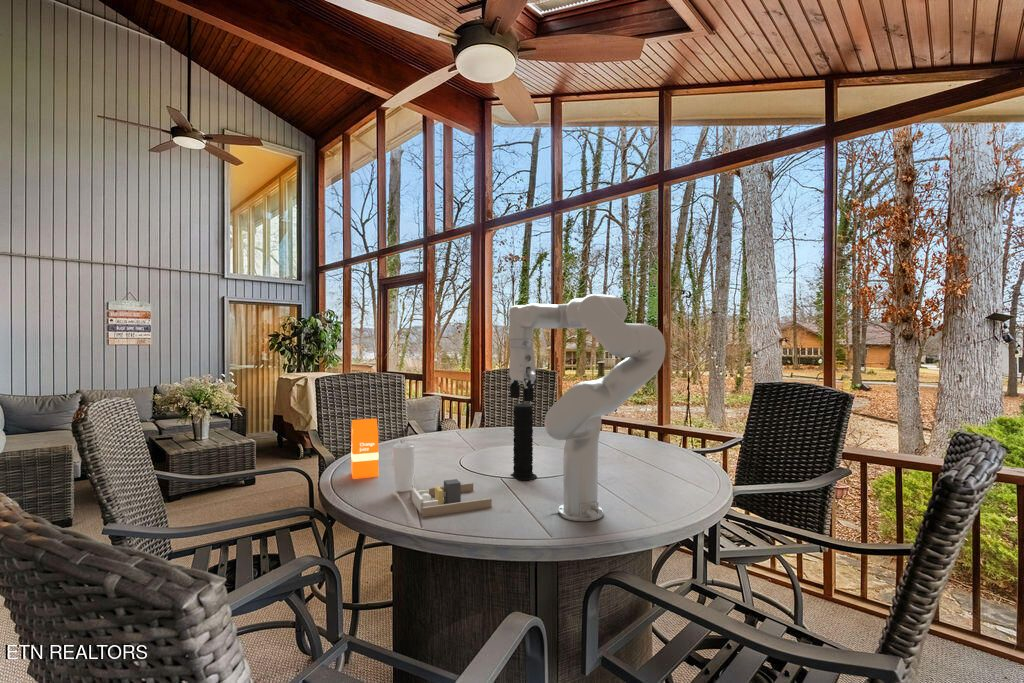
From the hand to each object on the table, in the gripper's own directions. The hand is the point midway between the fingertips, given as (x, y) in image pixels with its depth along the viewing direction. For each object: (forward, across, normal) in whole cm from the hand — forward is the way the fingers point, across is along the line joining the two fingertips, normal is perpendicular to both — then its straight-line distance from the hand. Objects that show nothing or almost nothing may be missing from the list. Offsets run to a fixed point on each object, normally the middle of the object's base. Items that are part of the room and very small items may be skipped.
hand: (521, 399), depth 159 cm
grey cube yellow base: (+29, 0, +24) cm, 38 cm away
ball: (+26, 0, +32) cm, 41 cm away
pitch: (+30, 0, +24) cm, 38 cm away
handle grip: (+30, +17, -9) cm, 36 cm away
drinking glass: (+30, +18, +33) cm, 48 cm away
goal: (+30, 0, +31) cm, 43 cm away
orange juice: (+30, +43, +42) cm, 67 cm away
